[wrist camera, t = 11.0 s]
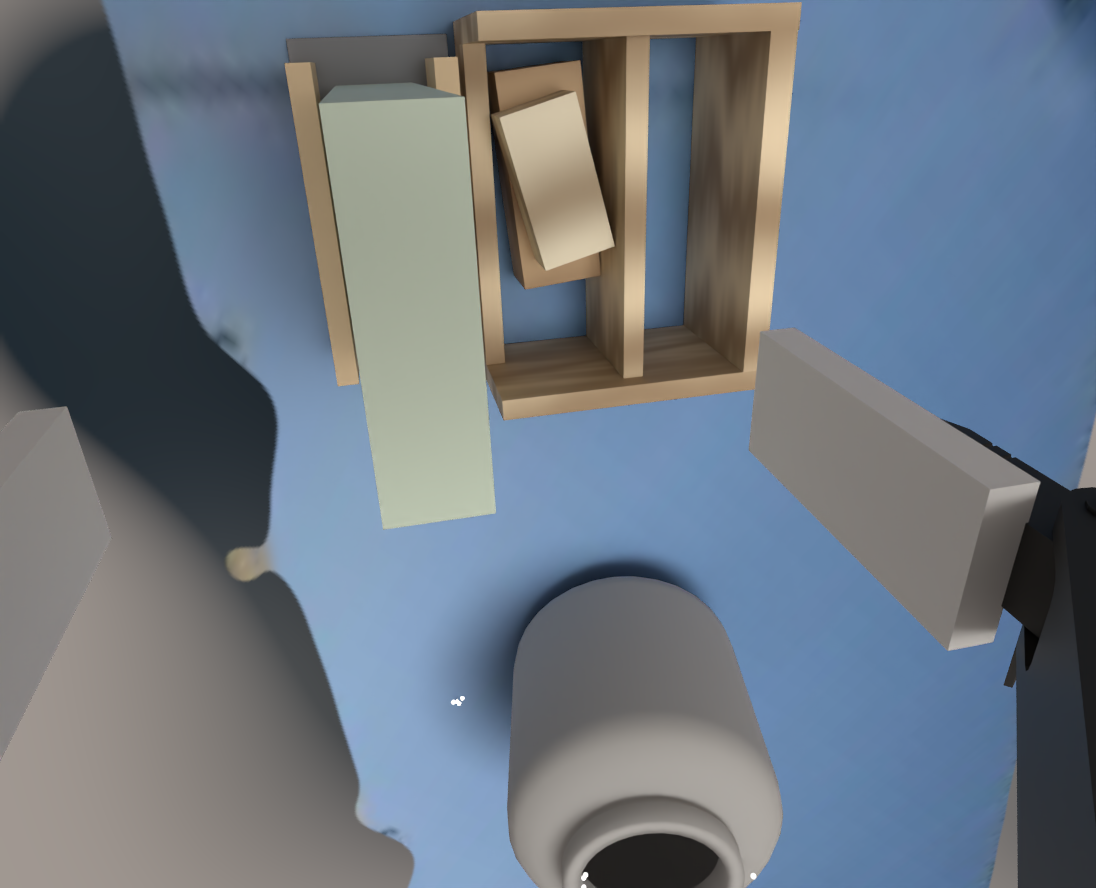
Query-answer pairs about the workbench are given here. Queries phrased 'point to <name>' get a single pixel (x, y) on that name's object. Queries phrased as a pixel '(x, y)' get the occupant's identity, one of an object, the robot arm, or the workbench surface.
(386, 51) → the holder
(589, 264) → the offcut low
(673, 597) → the jar
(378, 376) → the pale green block
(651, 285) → the workbench surface
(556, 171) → the offcut top
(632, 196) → the rack
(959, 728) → the workbench surface
